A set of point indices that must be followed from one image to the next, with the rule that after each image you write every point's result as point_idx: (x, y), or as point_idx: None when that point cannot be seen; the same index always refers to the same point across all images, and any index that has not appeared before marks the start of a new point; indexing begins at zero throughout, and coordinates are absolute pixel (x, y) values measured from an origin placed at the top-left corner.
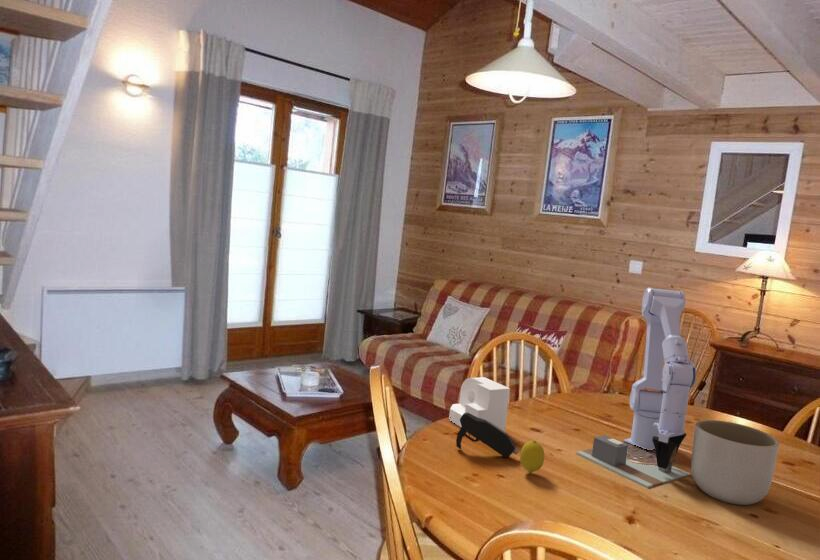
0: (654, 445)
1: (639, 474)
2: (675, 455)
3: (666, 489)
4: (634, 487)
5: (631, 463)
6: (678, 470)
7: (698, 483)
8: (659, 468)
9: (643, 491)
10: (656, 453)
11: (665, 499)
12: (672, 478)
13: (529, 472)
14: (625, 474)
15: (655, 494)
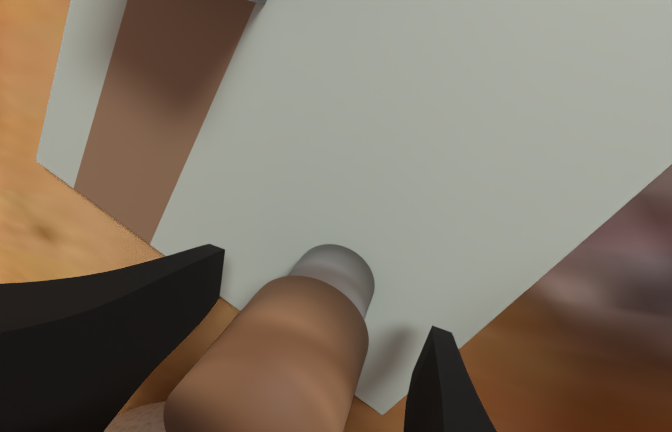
0: (6, 286)
1: (147, 117)
2: (405, 417)
3: (115, 248)
4: (9, 89)
5: (314, 52)
6: (393, 362)
7: (134, 408)
8: (306, 253)
9: (6, 136)
10: (111, 272)
11: (14, 229)
12: (233, 302)
13: None
14: (80, 23)
15: (23, 191)
